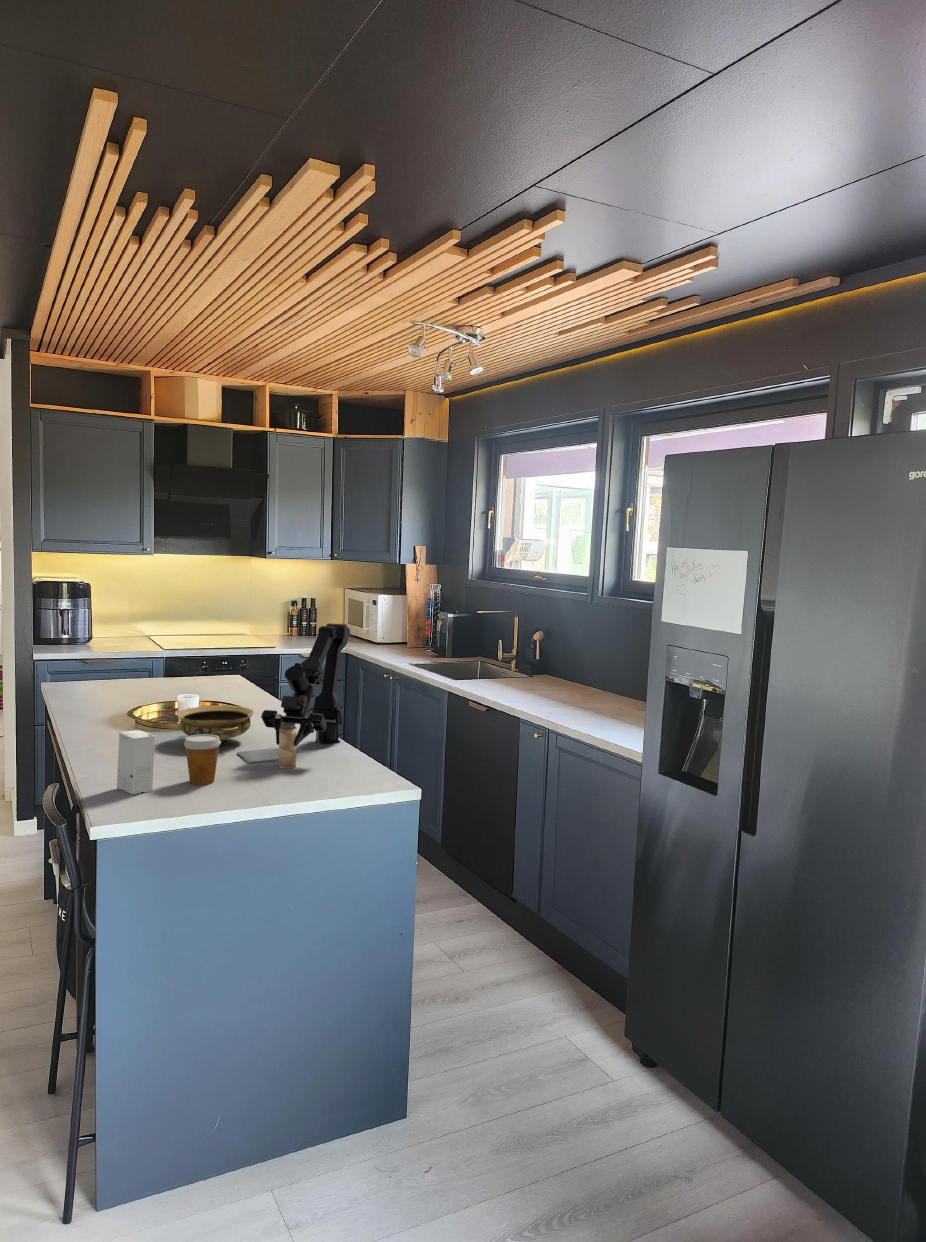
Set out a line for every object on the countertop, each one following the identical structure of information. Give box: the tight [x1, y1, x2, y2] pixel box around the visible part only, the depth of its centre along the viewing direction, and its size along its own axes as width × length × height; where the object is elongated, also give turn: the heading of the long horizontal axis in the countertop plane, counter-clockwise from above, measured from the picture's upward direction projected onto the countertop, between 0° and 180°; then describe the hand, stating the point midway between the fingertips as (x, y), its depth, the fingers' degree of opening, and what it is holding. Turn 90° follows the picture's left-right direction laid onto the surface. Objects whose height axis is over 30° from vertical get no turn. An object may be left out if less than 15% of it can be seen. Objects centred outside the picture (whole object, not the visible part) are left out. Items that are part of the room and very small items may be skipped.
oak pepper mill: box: [278, 722, 298, 769], centre depth 244 cm, size 5×5×12 cm
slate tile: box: [236, 747, 279, 765], centre depth 254 cm, size 13×13×1 cm
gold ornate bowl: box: [176, 705, 255, 746], centre depth 269 cm, size 30×24×10 cm
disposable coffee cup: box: [183, 734, 221, 786], centre depth 225 cm, size 10×10×12 cm
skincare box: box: [116, 729, 156, 795], centre depth 215 cm, size 8×6×15 cm
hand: (286, 744), depth 242 cm, fingers closed on oak pepper mill, 5 cm apart
